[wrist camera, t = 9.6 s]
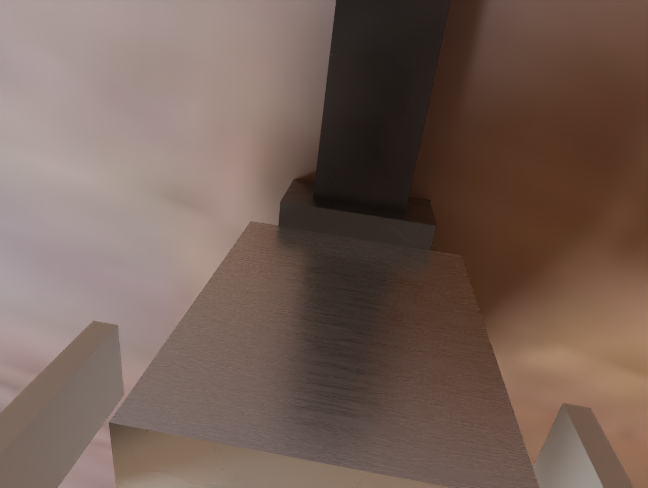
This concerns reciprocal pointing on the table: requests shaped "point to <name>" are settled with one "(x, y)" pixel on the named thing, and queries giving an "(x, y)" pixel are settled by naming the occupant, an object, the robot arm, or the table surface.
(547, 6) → the table surface
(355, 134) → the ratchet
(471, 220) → the table surface
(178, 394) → the grey rectangular block
